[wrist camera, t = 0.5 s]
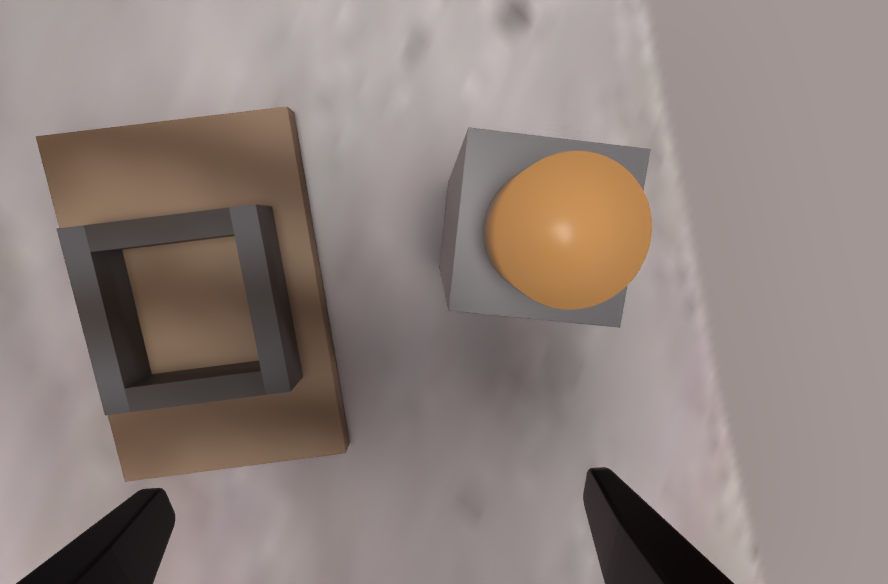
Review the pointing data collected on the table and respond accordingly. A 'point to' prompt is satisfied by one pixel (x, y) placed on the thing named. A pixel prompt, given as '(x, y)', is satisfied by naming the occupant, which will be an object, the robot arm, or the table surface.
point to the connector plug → (544, 227)
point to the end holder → (199, 290)
